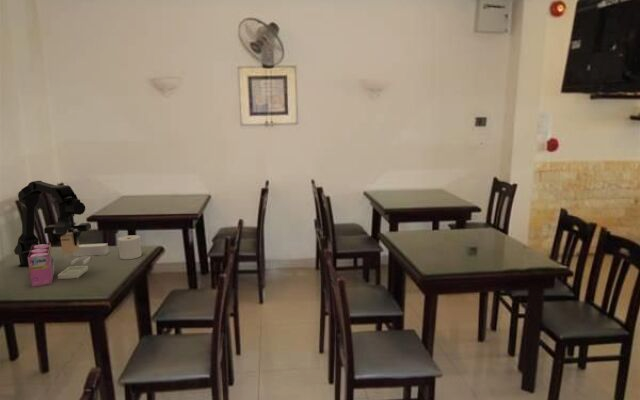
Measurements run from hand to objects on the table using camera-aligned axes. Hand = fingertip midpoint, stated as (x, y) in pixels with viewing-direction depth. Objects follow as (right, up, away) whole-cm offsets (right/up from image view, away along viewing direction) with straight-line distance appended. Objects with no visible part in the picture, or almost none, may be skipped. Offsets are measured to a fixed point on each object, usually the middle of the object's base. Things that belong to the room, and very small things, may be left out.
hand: (70, 246), depth 214 cm
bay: (-5, -9, +24) cm, 26 cm away
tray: (+1, -13, +1) cm, 13 cm away
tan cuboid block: (0, -2, +1) cm, 3 cm away
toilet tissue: (+17, -8, +26) cm, 32 cm away
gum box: (-11, -15, -1) cm, 19 cm away
